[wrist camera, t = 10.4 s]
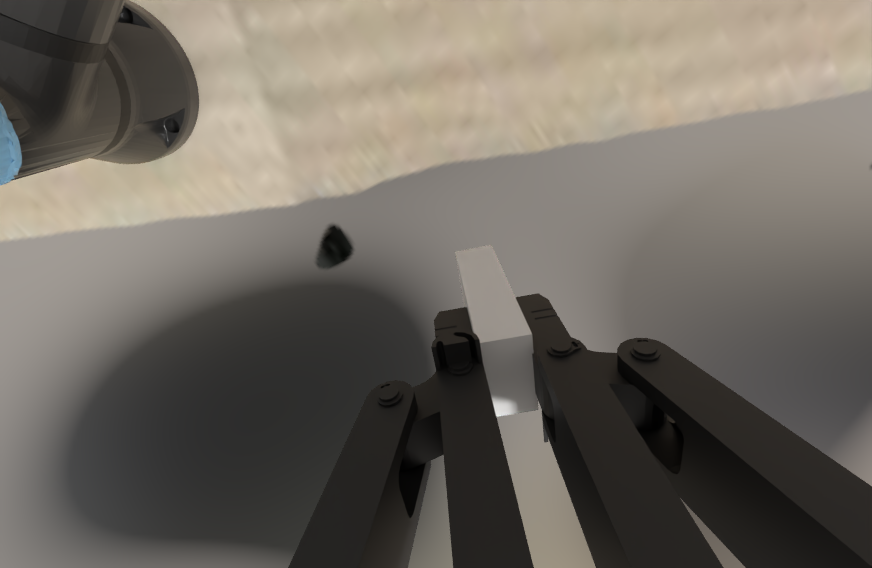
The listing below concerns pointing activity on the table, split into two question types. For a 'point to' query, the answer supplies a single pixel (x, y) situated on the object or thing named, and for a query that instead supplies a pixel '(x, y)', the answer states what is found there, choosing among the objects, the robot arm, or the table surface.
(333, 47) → the table surface
